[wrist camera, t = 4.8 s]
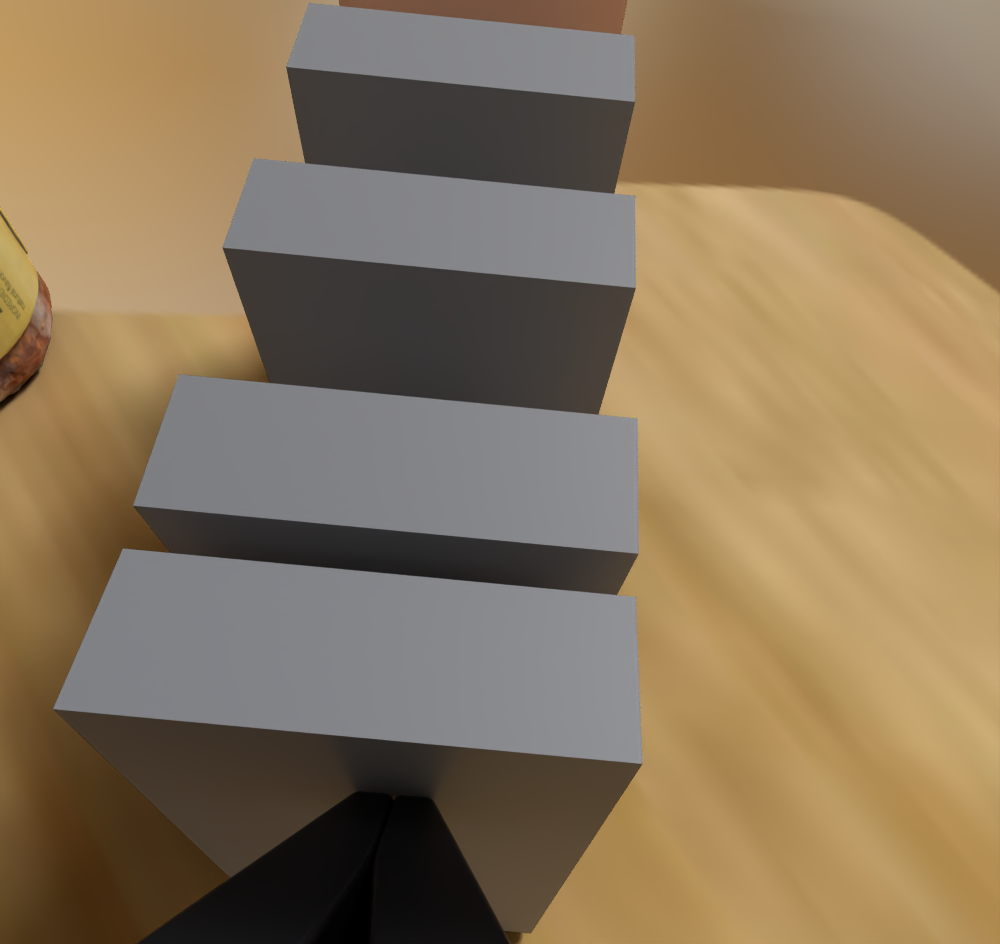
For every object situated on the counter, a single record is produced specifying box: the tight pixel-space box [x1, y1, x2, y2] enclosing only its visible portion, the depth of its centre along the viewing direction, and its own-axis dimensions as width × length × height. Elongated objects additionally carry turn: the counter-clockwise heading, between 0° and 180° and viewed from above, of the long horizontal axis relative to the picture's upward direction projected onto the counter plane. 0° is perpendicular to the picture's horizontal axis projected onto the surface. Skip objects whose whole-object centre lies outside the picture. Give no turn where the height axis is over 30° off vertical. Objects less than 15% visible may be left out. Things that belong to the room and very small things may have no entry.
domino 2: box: [286, 3, 635, 194], centre depth 16 cm, size 2×5×10 cm, turn 85°
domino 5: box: [53, 549, 642, 933], centre depth 11 cm, size 2×5×10 cm, turn 86°
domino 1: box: [339, 0, 627, 34], centre depth 18 cm, size 2×5×10 cm, turn 85°
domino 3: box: [223, 158, 636, 415], centre depth 14 cm, size 2×5×10 cm, turn 85°
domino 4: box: [133, 374, 639, 595], centre depth 12 cm, size 2×5×10 cm, turn 86°
